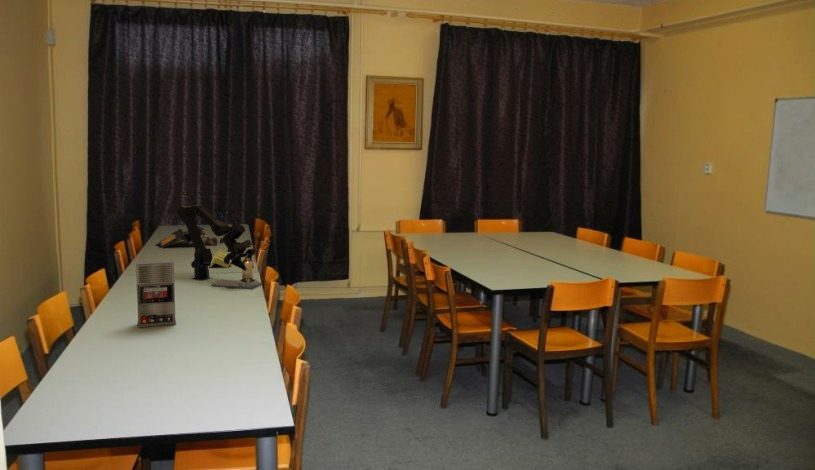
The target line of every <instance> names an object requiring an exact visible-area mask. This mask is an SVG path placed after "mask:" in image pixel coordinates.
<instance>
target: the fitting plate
mask: <svg viewBox="0 0 815 470" xmlns="http://www.w3.org/2000/svg"><path fill="white" fill-rule="evenodd" d="M262 285H263V283H262V282H258V279H257V278H253V282H242V278H241V279H237V280H234V279H233V280H232V279H219V280H217V281H215V282H212V283H211V284H210V287H215V288H218V287H219V288H220V287H221V288H229V289H238V290H240V289H241V290H252V291H253V290H255V289H256V288H258V287H260V286H262Z"/></svg>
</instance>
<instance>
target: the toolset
mask: <svg viewBox="0 0 815 470" xmlns="http://www.w3.org/2000/svg"><path fill="white" fill-rule="evenodd" d="M197 227H198V230H199V233H200V235H201V238H202V240H205V243H206V245H207V246H211V247H212V246H215V245H218V241H219V239H217V236H214V237H211V238H210V237H209V236H207V235H206V230H205V228H204V227H202V226H199V225H197ZM180 241H184V242H186V244H188V245H189V246H190V245H191V244H192V245H193V242H192V240H191V237H190V234H189V232H188V230H185V231H183V229H182V228H179V229H178V230H176V231H174V232H172V233H171V235H169V236H168V237H165V238H163V239H162V240H160V241H159V242H158V243H157V244H155V246H159V248H160V249H165V248H167V247H169V246H170V245H173V244H175V243H177V242H180Z"/></svg>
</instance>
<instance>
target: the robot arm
mask: <svg viewBox="0 0 815 470" xmlns="http://www.w3.org/2000/svg"><path fill="white" fill-rule="evenodd" d="M177 215H178V217H179V219H180V220H181V221H182V222H183V223H184V224H185V226H186V228H187V231H188V232H189V234H190V237H191V240H192V242H193V243H192V245H193V248H194V253H193V254H194V255H193V257H194V259H193V261H192V262H191V263H190V265H191V268H193V269H194V271H193V273H194V277H193V278H192V280H202V281H204V280H207V279H210V278H211V276H210V270H209V266H210V265H211V262H212V259H213V257H214V255H213V254H212V251H211V249H210V248H207V247H206V246H205V244H204V242H203V241H204V240H203V239H202V238H201V235H200V233H199V230H198V227H197V226H198V224H197V222H196V218H197V216H198V217H199V218H201V220H202V221H204V223H206V225H208V226H209V227H210V228H211V229H210V230H211V231H212V233H213V234H214V236H215V237H220V238H219V244H224V245H225V246H226V248H227V251H226V252H227V253H228V254H227V256H226V257H225V258H224V263H225V264H229V263H230V260H231V263H230V265H232V266H235V267H238V269H241V270H242V269H243V270H244V271H246V270H247V269H246V267H245V265H244V264H243V262H242V261H244V260H245V258H250V260H251V261H253V260H252V258H253V256H254V255H256V253H257V250H256V249H255V248H253V247H252V241H251V240H250V239H246V240H244V241H243V242H238V240H239V238H240V237H241V236H242V235H243V234H244V233H246V228H245V226H243V225H242V224H240V223H238V222H237V221H236V222H233V223H232V225H231V226H229V224H227V223H226V222H224V221H221V220H219V219H217V218H216V217H215V216H214V215H213V214H212V213H210V212H209V211H208V210H207V209H206V208H205V206H203V204H198V205H197V204H196V205H187V206H186V205H184V206H180V207H179V208H178V211H177ZM251 247H252V248H251ZM248 248H249V249H248ZM242 259H243V260H242ZM253 269H254V265H253Z"/></svg>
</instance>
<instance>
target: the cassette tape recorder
mask: <svg viewBox="0 0 815 470" xmlns="http://www.w3.org/2000/svg"><path fill="white" fill-rule="evenodd" d="M174 264H175V262H174V260H173V259H172V260H171V259H170V260H152V261H151V260H150V261H135V272H136V297H137V299H136V300H137V328H143V327H144V328H147V327H157V326H171V325H172V326H174V325H176V324H177V321H176V304H175V303H176V302H175V296H176V295H175V265H174Z"/></svg>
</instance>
